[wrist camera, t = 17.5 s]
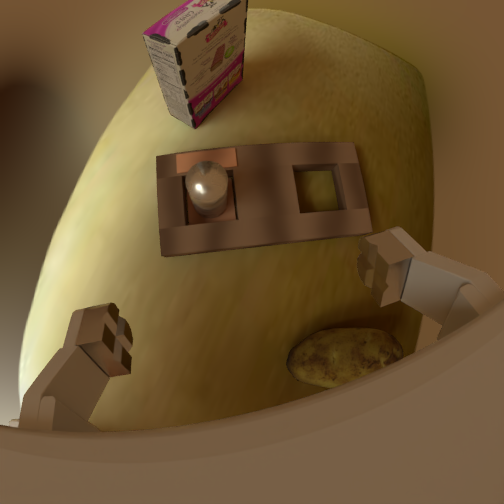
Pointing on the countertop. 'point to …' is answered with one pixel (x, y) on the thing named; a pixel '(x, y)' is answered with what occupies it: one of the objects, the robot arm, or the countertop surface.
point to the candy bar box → (198, 55)
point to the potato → (342, 355)
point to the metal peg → (207, 188)
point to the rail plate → (260, 198)
